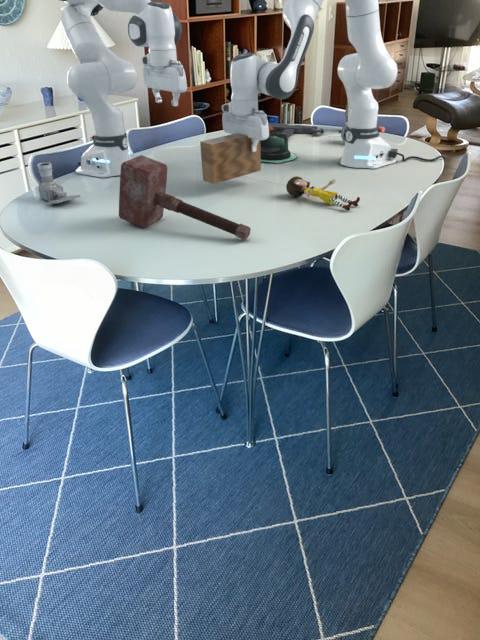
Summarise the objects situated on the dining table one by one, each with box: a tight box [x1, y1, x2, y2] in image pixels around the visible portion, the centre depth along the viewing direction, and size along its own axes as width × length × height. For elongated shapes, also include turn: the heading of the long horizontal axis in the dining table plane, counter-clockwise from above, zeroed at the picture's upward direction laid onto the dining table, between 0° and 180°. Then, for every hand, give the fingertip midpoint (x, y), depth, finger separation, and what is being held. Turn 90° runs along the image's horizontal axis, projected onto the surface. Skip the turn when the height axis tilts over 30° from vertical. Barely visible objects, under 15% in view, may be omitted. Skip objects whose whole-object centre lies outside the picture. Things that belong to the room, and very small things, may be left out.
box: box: [199, 133, 262, 185], centre depth 189 cm, size 21×6×13 cm, turn 131°
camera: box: [37, 161, 82, 205], centre depth 182 cm, size 9×12×15 cm
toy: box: [338, 121, 347, 142], centre depth 244 cm, size 9×9×15 cm
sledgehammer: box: [118, 154, 252, 241], centre depth 157 cm, size 17×10×40 cm
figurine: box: [285, 176, 361, 211], centre depth 178 cm, size 13×8×25 cm
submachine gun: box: [268, 122, 325, 138], centre depth 263 cm, size 32×3×25 cm
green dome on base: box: [260, 132, 297, 164], centre depth 229 cm, size 15×19×20 cm
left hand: (166, 104), depth 187 cm, fingers open, 8 cm apart
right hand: (246, 149), depth 192 cm, fingers closed on box, 6 cm apart
